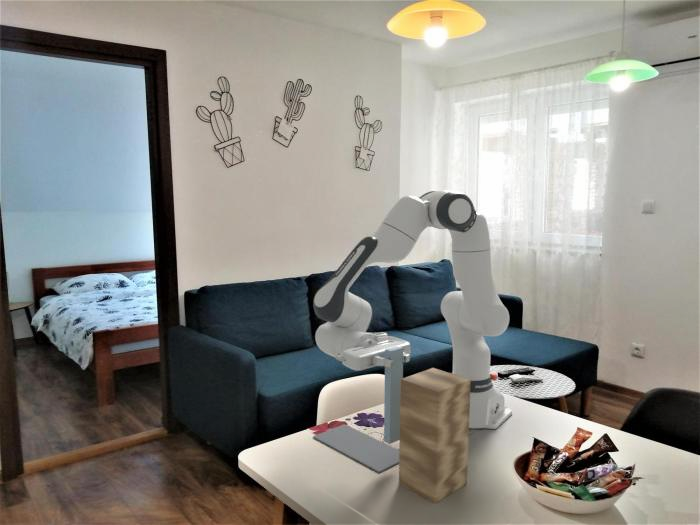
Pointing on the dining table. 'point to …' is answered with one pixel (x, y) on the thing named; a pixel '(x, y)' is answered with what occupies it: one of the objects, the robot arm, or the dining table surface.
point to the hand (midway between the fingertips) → (400, 361)
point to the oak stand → (434, 433)
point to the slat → (393, 395)
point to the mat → (360, 447)
